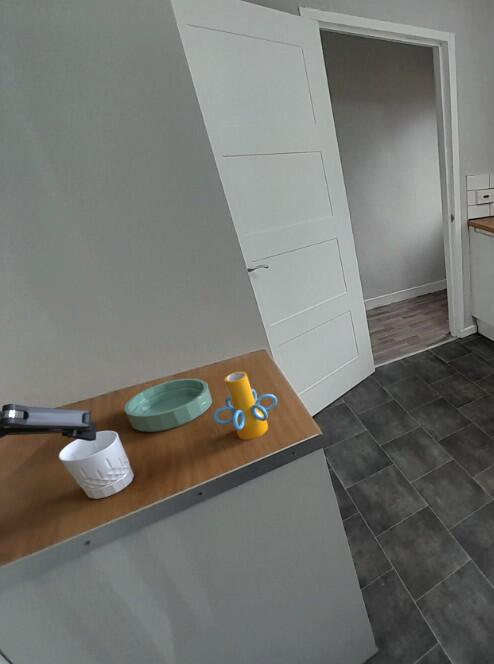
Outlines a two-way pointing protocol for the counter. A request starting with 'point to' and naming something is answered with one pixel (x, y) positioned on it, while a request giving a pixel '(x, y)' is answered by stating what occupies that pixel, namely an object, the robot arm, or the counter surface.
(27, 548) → the counter surface
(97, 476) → the white cup
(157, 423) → the green bowl
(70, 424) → the robot arm
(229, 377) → the yellow vase
